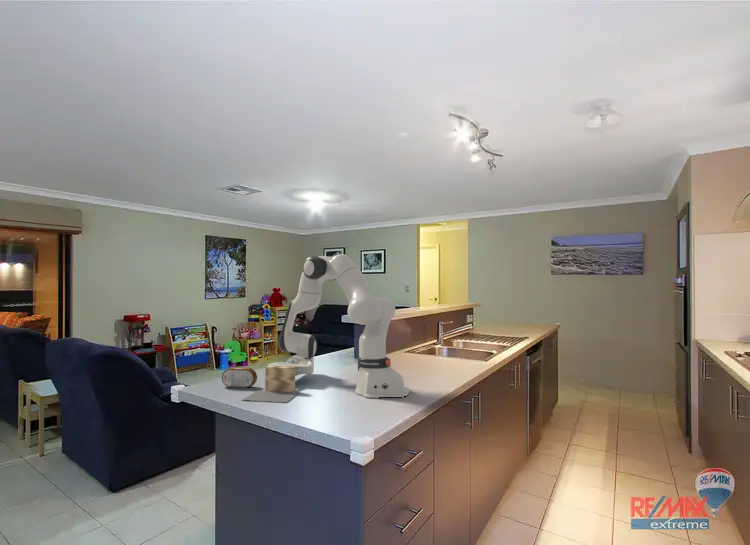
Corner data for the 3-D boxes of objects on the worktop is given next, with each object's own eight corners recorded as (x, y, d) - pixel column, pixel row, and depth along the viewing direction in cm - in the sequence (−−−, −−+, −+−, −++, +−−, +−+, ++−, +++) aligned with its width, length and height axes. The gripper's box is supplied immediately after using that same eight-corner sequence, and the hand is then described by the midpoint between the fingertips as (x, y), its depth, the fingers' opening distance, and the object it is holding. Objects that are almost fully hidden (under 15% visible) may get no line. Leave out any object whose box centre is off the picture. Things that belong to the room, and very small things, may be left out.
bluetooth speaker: (257, 386, 161) (257, 367, 161) (254, 388, 158) (254, 368, 158) (224, 385, 163) (224, 366, 163) (220, 387, 160) (220, 368, 160)
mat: (299, 393, 151) (299, 392, 151) (287, 403, 138) (287, 402, 138) (257, 391, 154) (257, 390, 154) (241, 400, 141) (241, 399, 141)
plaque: (295, 390, 155) (295, 366, 155) (292, 392, 152) (293, 368, 153) (268, 389, 157) (268, 365, 157) (265, 391, 154) (265, 367, 154)
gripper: (274, 357, 174) (261, 363, 160) (316, 359, 171) (306, 365, 157) (274, 371, 173) (260, 378, 160) (316, 373, 170) (306, 380, 157)
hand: (283, 372), depth 158 cm, fingers closed
